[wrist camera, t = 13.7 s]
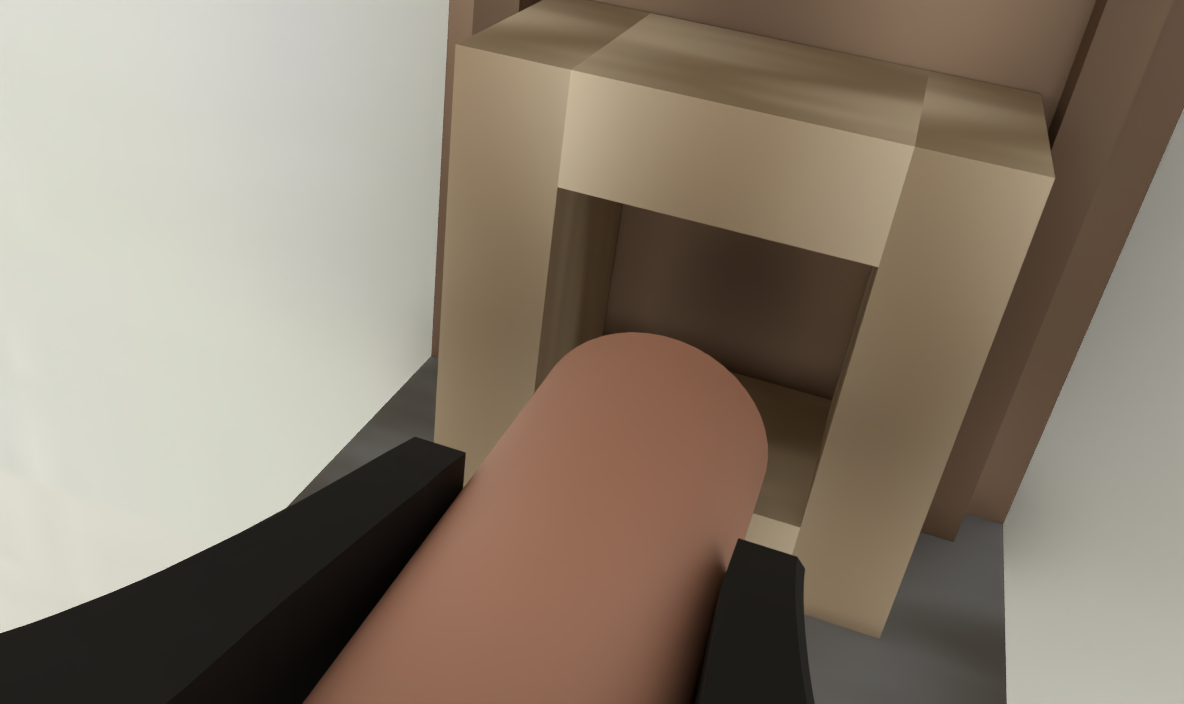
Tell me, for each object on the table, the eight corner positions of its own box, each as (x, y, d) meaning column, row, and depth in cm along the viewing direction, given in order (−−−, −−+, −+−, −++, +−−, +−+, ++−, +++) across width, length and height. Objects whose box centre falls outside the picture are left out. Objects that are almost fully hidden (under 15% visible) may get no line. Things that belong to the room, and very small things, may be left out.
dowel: (789, 366, 12) (544, 1099, 5) (745, 564, 13) (511, 1332, 7) (545, 306, 13) (52, 887, 6) (529, 502, 14) (119, 1142, 7)
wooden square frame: (1040, 93, 16) (1055, 178, 13) (897, 495, 20) (879, 639, 17) (555, -7, 18) (455, 44, 14) (515, 383, 22) (430, 493, 18)
